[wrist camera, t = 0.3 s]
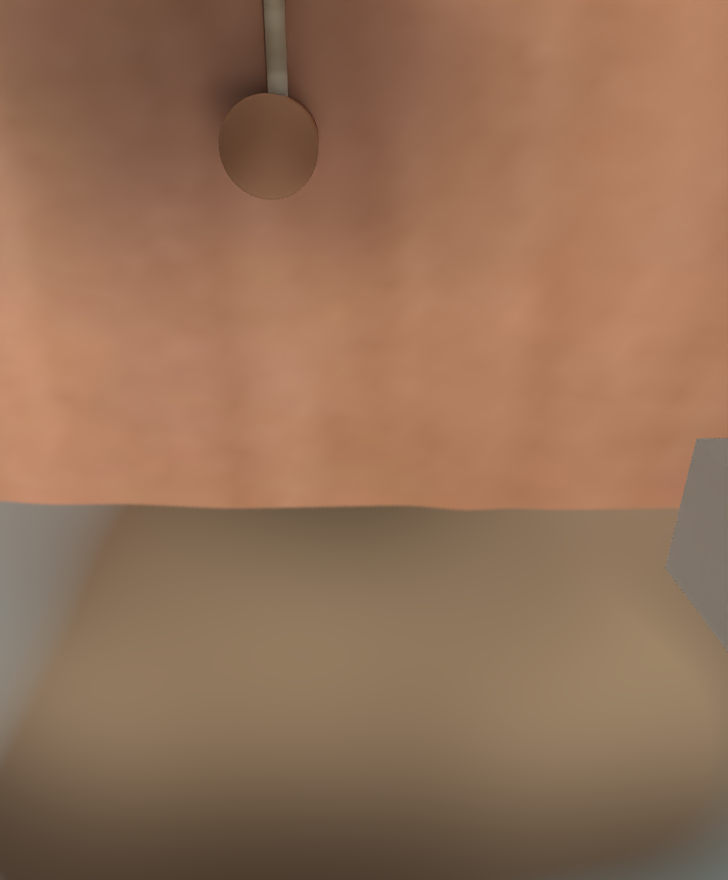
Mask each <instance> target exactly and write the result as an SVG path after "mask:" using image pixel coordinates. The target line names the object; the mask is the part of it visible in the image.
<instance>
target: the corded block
mask: <svg viewBox="0 0 728 880" xmlns="http://www.w3.org/2000/svg"><path fill="white" fill-rule="evenodd" d="M263 3H264V24H265V44H266V64H267V84H268V93H259V94H254V95H251V96H248V97H246V98H244V99H242V100H241V101H239V102H238V103H237V104H235V105H234V107H233V108H232V109H231V110H230V111H229V112H228V114H227V115H226V117H225V119H224V121H223V124H222V127H221V130H220V136H219V150H220V156H221V160H222V163H223V166H224V168H225V170H226V172H227V174H228V175H229V177H230V178H231V179H232V181H233V182H234V183H235V184H236V185H237V186H238V187H239V188H241V189H242V190H243V191H245V192H246V193H248V194H250V195H252V196H254V197H257V198H261V199H268V200H274V199H281V198H285V197H288V196H290V195H292V194H294V193H296V192H297V191H298V190H300V189H301V188H302V187H303V186H304V185H305V184H306V182H307V181H308V180H309V178H310V177H311V175H312V173H313V171H314V168H315V165H316V161H317V154H318V130H317V126H316V123H315V120H314V118H313V116H312V115H311V113H310V112H309V111H308V109H307V108H306V107H305V106H304V105H303V104H301V103H300V102H299V101H297V100H295V99H293V98H290V97H288V72H287V46H286V19H285V0H263Z"/></svg>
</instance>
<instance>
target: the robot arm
mask: <svg viewBox="0 0 728 880" xmlns="http://www.w3.org/2000/svg"><path fill="white" fill-rule="evenodd" d="M665 568H666V570H667V571H668V573H669V574H670V575H671V577H672V578H673V579H674V581H675V582H676V583H677V585H678V586H679V587H680V588H681V590H682V591H683V593H684V594H685V595H686V597H687V598H688V599H689V601H690V602H691V603H692V605H693V606H694V607H695V609H696V610H697V611H698V613H699V614H700V615H701V617H702V618H703V620H704V621H705V622H706V624H707V625H708V626H709V628H710V629H711V630H712V632H713V633H714V634H715V636H716V637H717V638H718V640H719V641H720V642H721V644H722V645H723V646H724V648H725V649H726V650H727V652H728V438H707V439H697V440H696V444H695V448H694V452H693V456H692V460H691V464H690V468H689V472H688V476H687V480H686V484H685V488H684V493H683V497H682V501H681V505H680V509H679V513H678V517H677V521H676V525H675V529H674V533H673V537H672V542H671V546H670V550H669V554H668V558H667V562H666V566H665Z"/></svg>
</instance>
